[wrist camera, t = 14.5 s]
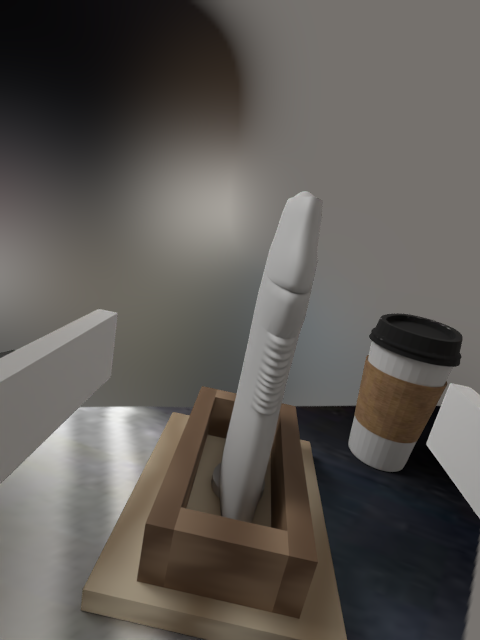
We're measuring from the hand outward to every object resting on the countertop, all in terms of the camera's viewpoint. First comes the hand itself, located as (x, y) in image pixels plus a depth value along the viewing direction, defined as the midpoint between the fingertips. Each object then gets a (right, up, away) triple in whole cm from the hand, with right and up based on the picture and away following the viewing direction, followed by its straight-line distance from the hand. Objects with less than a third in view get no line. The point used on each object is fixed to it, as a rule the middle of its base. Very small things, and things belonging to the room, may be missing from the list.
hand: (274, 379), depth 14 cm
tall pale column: (-2, -11, +14) cm, 18 cm away
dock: (-2, -12, +13) cm, 18 cm away
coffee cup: (+13, -12, +25) cm, 31 cm away
